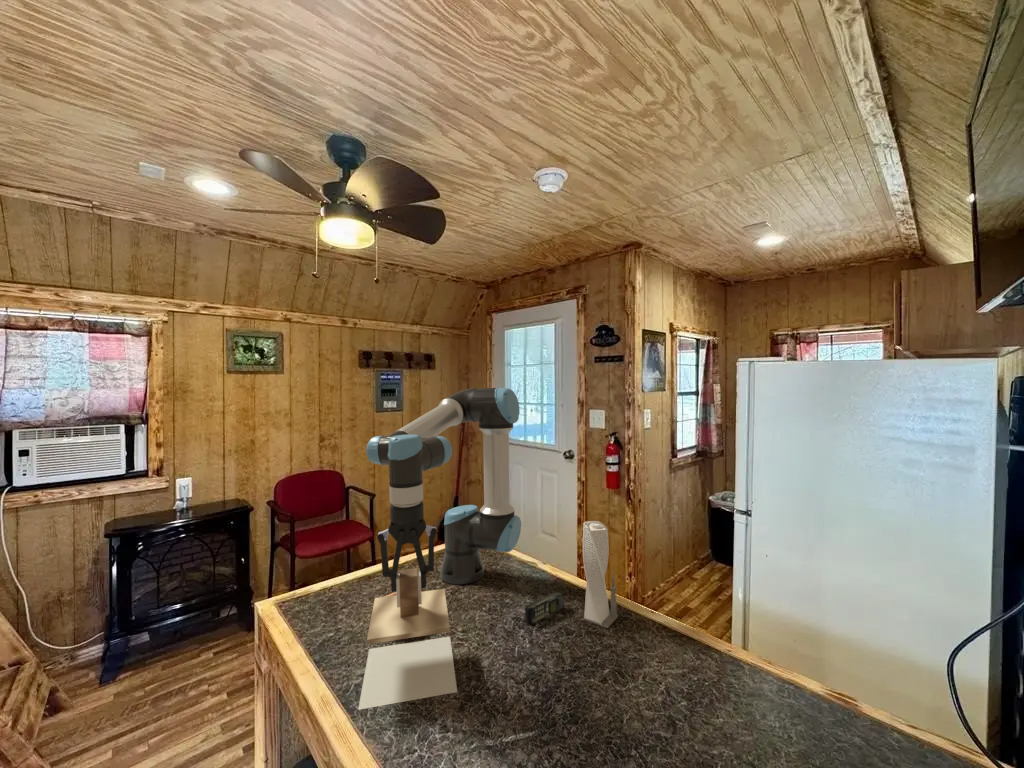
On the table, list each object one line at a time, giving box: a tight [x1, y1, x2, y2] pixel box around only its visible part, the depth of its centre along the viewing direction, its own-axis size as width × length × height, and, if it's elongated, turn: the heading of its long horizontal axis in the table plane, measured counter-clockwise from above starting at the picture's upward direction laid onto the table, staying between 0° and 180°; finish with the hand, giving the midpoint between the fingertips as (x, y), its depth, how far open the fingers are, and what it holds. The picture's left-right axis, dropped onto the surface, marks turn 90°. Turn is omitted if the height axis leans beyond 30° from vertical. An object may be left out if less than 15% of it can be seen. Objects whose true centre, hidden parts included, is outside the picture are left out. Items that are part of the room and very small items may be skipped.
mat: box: [358, 636, 458, 711], centre depth 96 cm, size 20×20×1 cm
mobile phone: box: [524, 591, 565, 626], centre depth 119 cm, size 5×3×15 cm
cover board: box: [366, 567, 451, 645], centre depth 96 cm, size 17×17×10 cm
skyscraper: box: [582, 520, 619, 629], centre depth 116 cm, size 8×8×28 cm
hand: (409, 602), depth 96 cm, fingers closed on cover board, 4 cm apart
